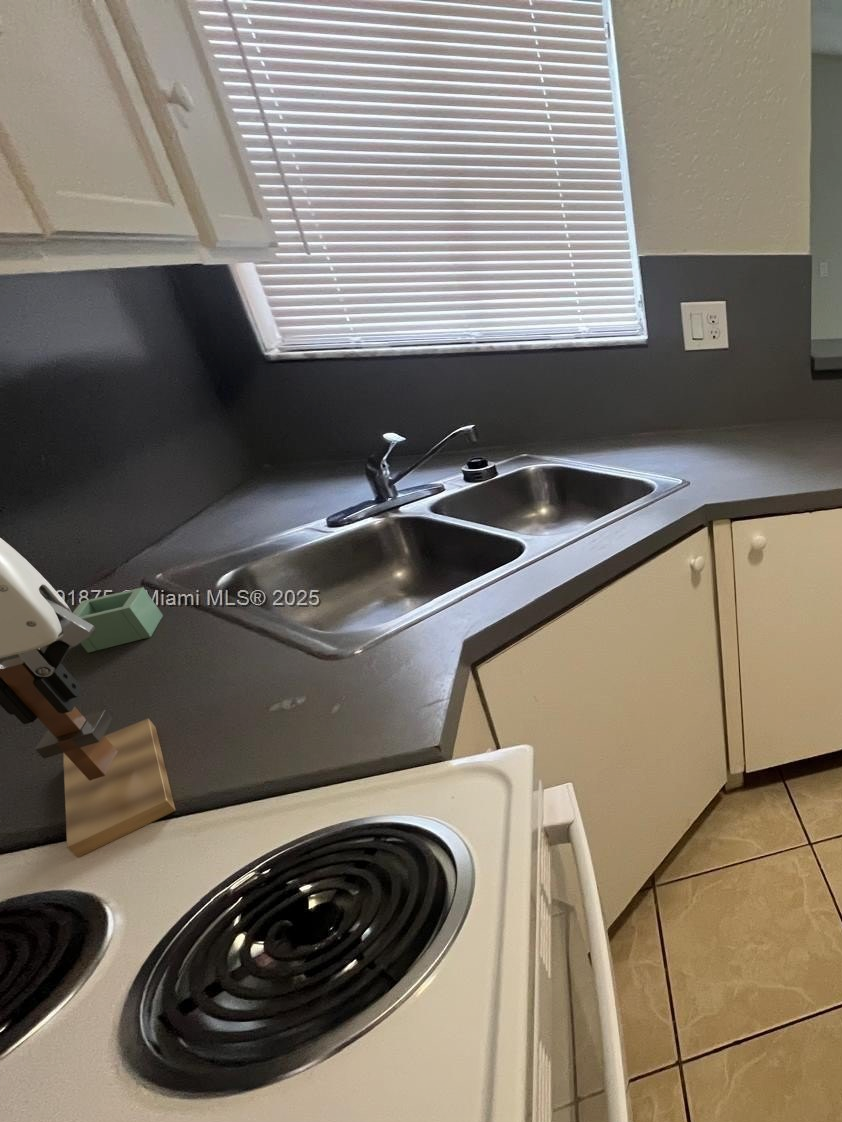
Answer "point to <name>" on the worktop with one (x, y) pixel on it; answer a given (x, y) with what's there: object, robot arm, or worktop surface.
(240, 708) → the worktop surface
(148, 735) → the board
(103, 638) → the green open box
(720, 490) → the worktop surface
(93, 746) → the brown piece
